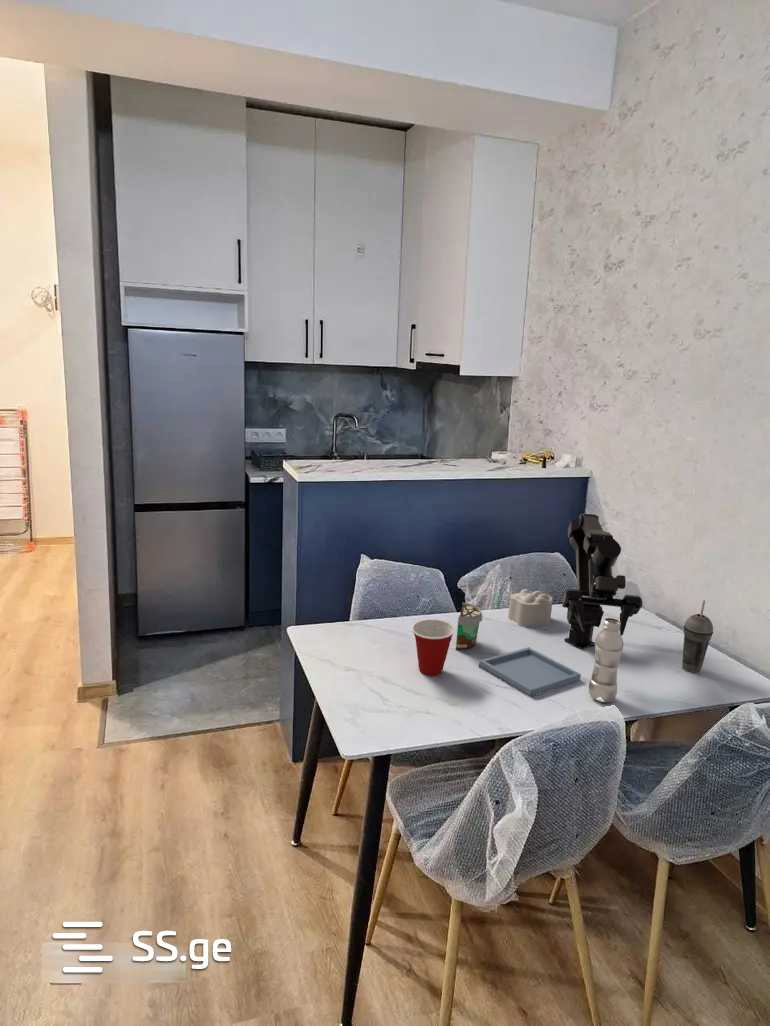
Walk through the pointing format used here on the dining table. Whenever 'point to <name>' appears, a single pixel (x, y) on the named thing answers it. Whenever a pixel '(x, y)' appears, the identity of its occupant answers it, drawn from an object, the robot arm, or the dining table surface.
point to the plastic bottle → (606, 661)
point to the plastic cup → (432, 644)
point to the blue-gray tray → (529, 671)
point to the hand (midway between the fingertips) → (602, 633)
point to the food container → (468, 626)
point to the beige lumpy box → (530, 608)
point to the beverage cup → (696, 641)
